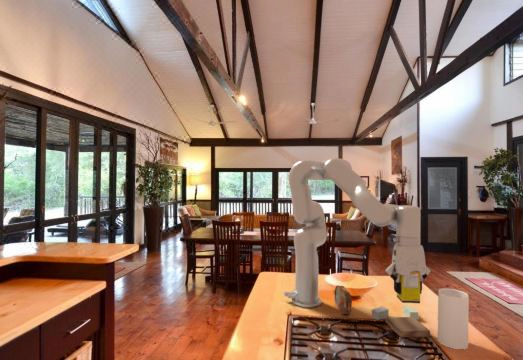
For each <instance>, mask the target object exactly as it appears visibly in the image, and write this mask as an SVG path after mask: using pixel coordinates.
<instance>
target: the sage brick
mask: <svg viewBox="0 0 523 360" xmlns="http://www.w3.org/2000/svg"><path fill="white" fill-rule="evenodd" d="M402 314H404V316H405V317H414V318H415V319H416V320H417V321H419V312H418V311H417V310H416V309H415V307H413V306H411V305H402Z"/></svg>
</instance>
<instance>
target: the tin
mask: <svg viewBox="0 0 523 360" xmlns="http://www.w3.org/2000/svg"><path fill="white" fill-rule="evenodd" d="M334 303H335V306H336V307H337V309H338V310H339V311H340V313H341V314H342V315H350V314H351V312H352V303H353V300H352V296H351V293H350V292H349V290H348V289H347V288H346V287H345V286H343V285H335V288H334Z"/></svg>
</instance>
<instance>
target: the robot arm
mask: <svg viewBox="0 0 523 360" xmlns="http://www.w3.org/2000/svg"><path fill="white" fill-rule="evenodd" d="M326 180H327V181H331V182H332V183H334V184H335V186H337V187H338V188H339V189H340V190H341V191H342V192H344V193H345V195H346V196H347V197H348V198H349V199H350V201H351V203H352V204H353V206H354V207H356V209H357V210H358V211H359V213H361V214H362V215H363V216H364V218H366V219H367V220H368V221H369V222H371V223H372V225H375V226H376V227H386V226H389V225H394V224H396V227H395V228H396V236H395V237H393V238H392V241H393V242H394V243H395V244H394V246H393V250H392V257H391V264H390V265H389V266H387V268H386V269H385V271H384V272H386V274H387V275H388V276H389V277H390V279H392V280H393V290H394V292H395V293H396V294H397V293H398V294H401V283H400V279H401V276H405V275H409V274H410V272H412V271H420V295H421V294H422V291H423V282H425V279H426V278H427V277H428V275H429V274H430V273H431V272H432V270H431V269H430V268H429V267H428V266H427V264H426V255H425V251H424V250H425V249H424V247H423V245H421V208H420V207H419V206H417V205H404V204H403V205H398V204H392V203H382V202H381V201H380V200H378V199H377V198H376V197H375V196H374V195H373V194H372V193H371V192H370V190H369V189H368V186H367V183H366V180H364V179H363V178H362V177H361V176H360V175H359V174H358V173H357V172H356V171H354V170H353V168H352V165H351V163H350V162H349V161H347V160H346V159H344V158H339V157H332V158H329V159H328V160H312V159H302V160H300V161H297V162H295V163H294V164H293V165H292V167H291V169H290V171H289V173H288V185H289V189H290V197H291V198H290V199H291V204H292V211H293V217H294V220H295V222H296V223H298V224H303V225H305V226H304V227H302V228H300V229H299V228H298V230H297V231H296V232H295V233H294V235H293V245H294V252H295V253H294V254H295V278H294V279H295V281H294V282H295V283H294V285H295V288H293V290H291V291H283V294H284V295H283V296H284V297H287V298H288V299H291V303H292V304H294V306H297V307H302V308H308V309H309V308H315V307H316V308H317V307H319V306H321V305H322V303H323V302H322V298H321V297H320V296H319V255H318V250H317V248H318V247H321V246H322V245H324V244H325V243H326V241H327V237H328V232H327V224H326V218H325V212H324V208H323V207H322V205H321V204H320V203H319V202H317V201H315V200H313V198H312V191H311V188H310V186H309V183H308V181H326ZM393 272H394V273H393Z"/></svg>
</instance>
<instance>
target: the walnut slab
mask: <svg viewBox="0 0 523 360" xmlns="http://www.w3.org/2000/svg"><path fill="white" fill-rule="evenodd" d="M385 319H386V320H385V323H386V324H387V326H389V327H390V328H391V329H392V330H393V331H394V330H395V331H396V332H395V331H394V332H395V333H396V335H398V336H399V337H400V338H417V337H418V338H420V337H421V338H422V337H423V338H426V337H431V330H430V329H428V328H427V327H426V326H425V325H424V324H422V323H421V322H420V321H419V320H416V319H415V318H414V317H407V316H393V317H392V316H391V317H390V316H388V317H386V318H385Z"/></svg>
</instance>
